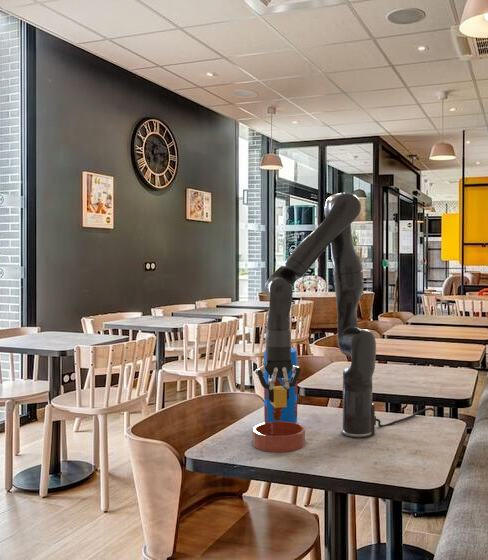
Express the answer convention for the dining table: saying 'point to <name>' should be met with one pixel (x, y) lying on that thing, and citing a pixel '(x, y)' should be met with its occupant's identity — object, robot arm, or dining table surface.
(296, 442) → the bowl
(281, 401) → the sponge
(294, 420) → the thermos
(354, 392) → the robot arm
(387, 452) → the dining table surface
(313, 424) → the dining table surface
